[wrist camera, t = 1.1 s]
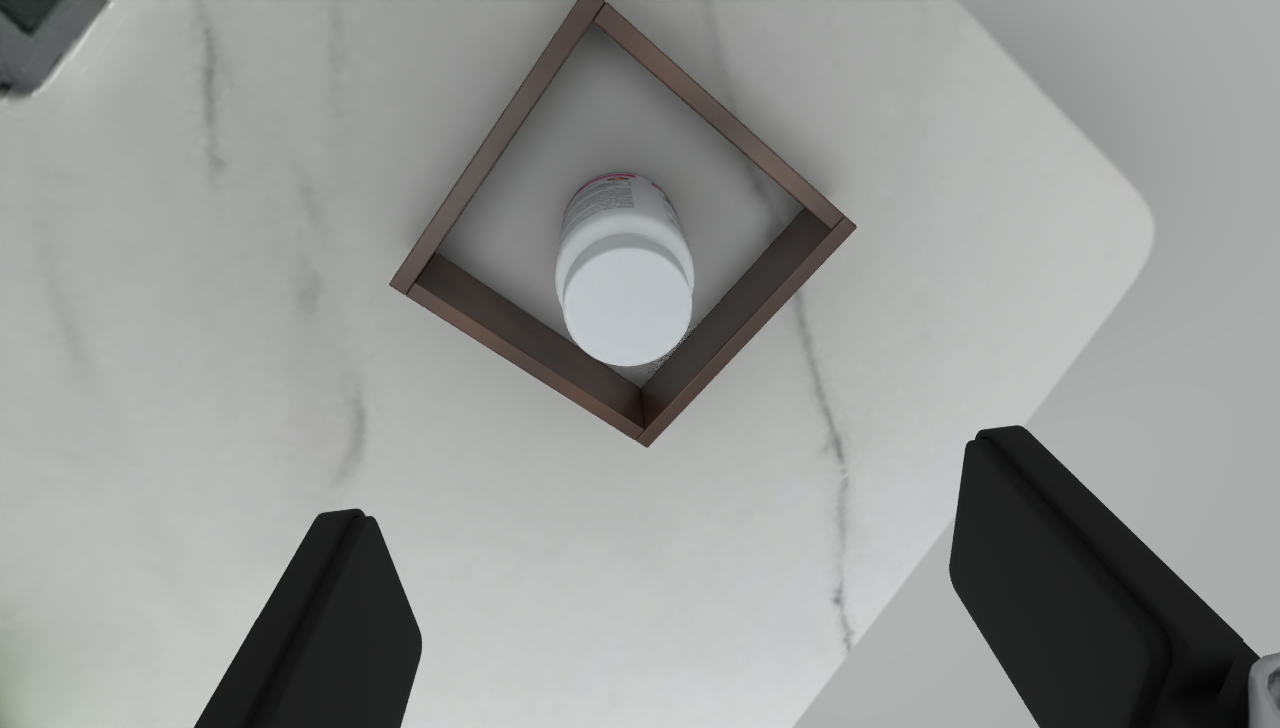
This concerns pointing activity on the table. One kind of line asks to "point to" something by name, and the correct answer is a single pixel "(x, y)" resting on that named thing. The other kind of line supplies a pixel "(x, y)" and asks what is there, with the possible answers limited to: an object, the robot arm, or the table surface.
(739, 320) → the square wooden frame
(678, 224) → the pill bottle
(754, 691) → the table surface
